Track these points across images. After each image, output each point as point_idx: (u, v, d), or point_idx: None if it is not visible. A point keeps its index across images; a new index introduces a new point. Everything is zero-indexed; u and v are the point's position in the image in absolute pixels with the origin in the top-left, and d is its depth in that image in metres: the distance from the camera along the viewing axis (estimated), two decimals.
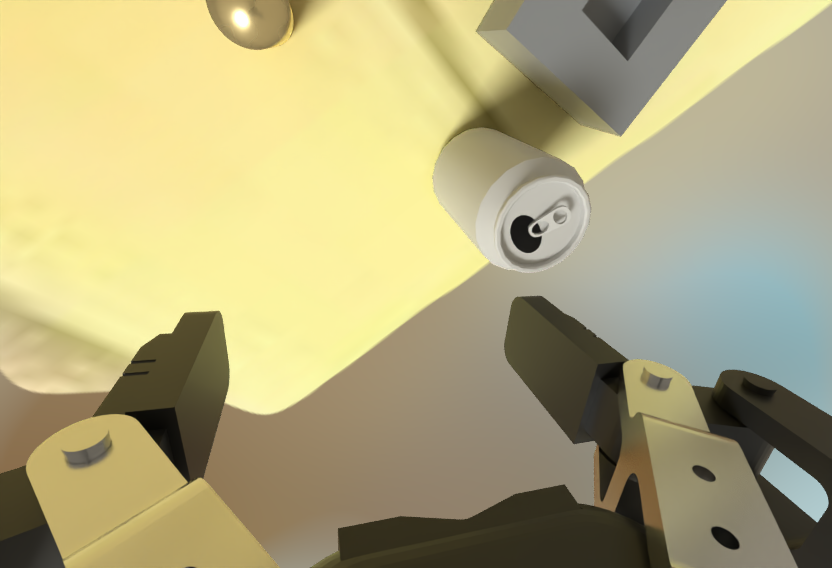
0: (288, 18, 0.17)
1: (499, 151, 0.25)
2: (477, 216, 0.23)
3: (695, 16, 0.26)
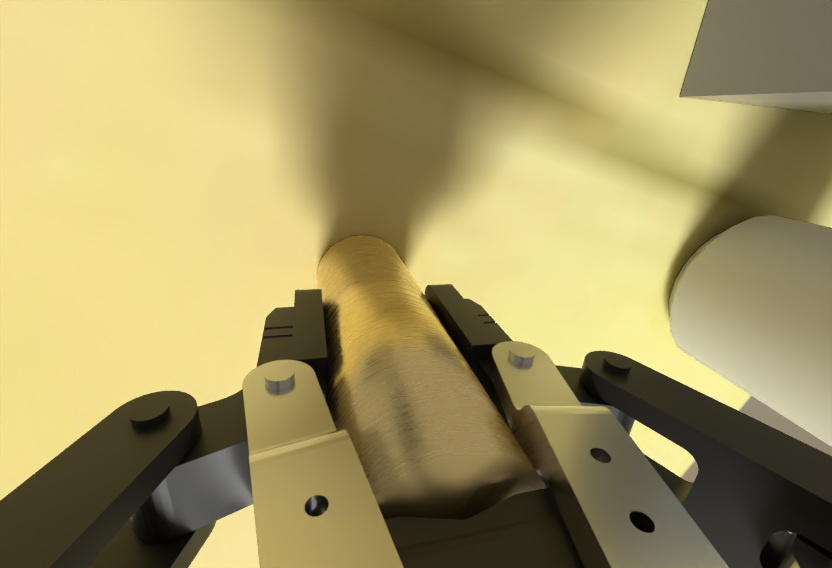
0: None
1: None
2: None
3: None
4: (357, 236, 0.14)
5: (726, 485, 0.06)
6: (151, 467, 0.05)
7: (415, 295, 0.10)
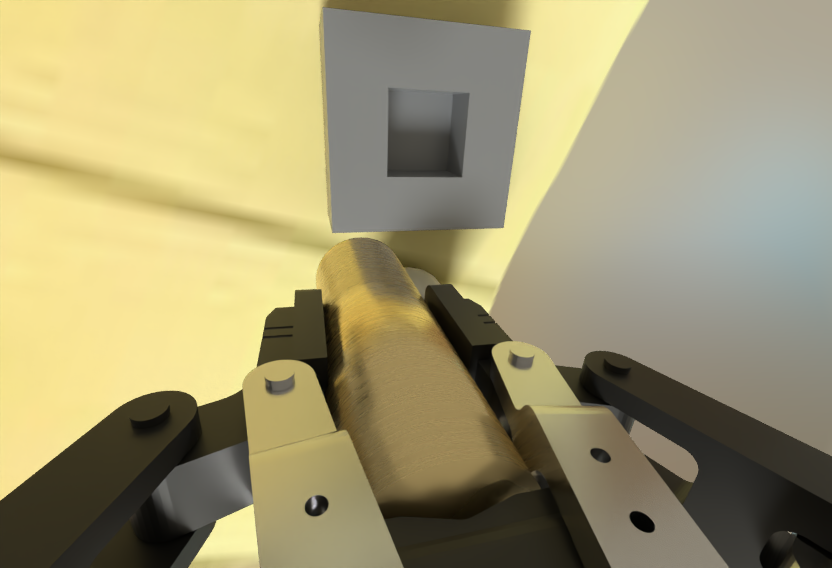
0: None
1: None
2: None
3: (502, 104, 0.24)
4: (357, 238, 0.14)
5: (726, 485, 0.06)
6: (151, 467, 0.05)
7: (413, 298, 0.10)
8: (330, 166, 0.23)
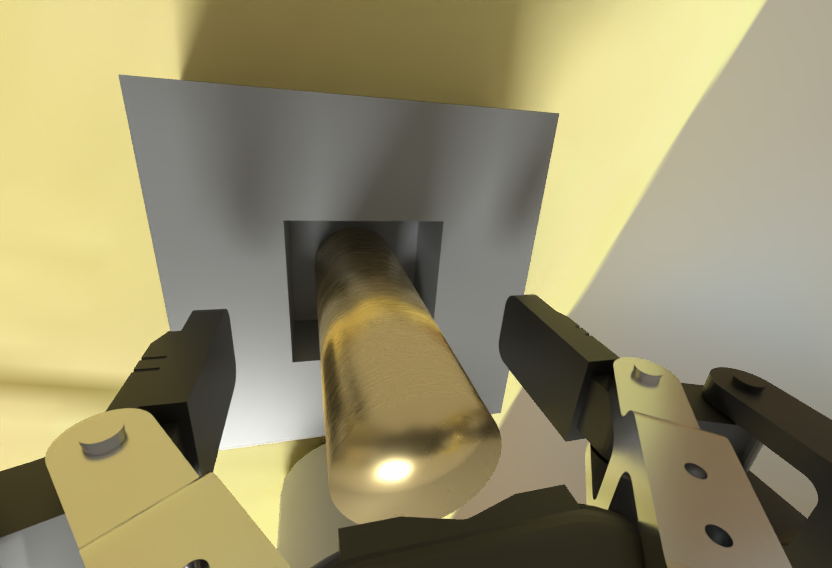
0: (496, 434, 0.07)
1: None
2: None
3: (503, 236, 0.14)
4: (352, 227, 0.15)
5: None
6: None
7: (401, 279, 0.11)
8: None
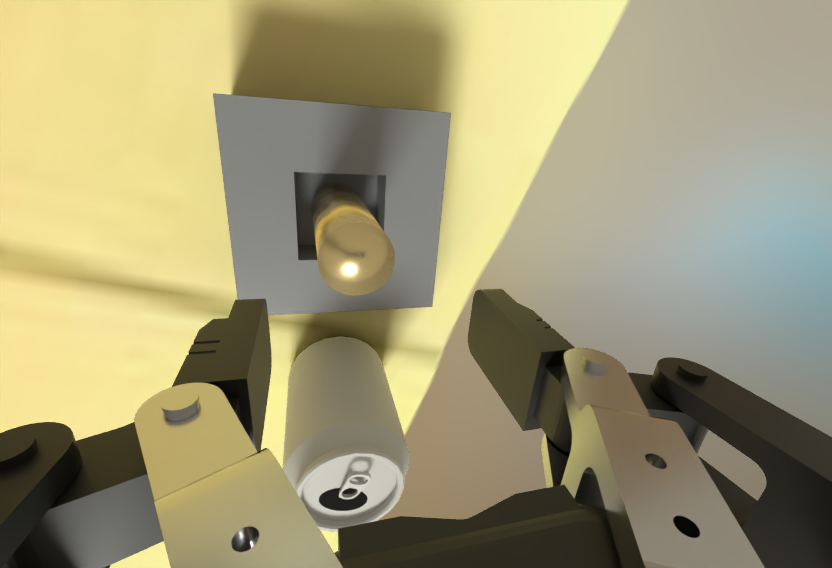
0: (392, 249, 0.17)
1: (295, 414, 0.24)
2: None
3: (423, 186, 0.23)
4: (334, 183, 0.24)
5: (796, 503, 0.06)
6: (20, 510, 0.04)
7: (359, 201, 0.20)
8: (233, 251, 0.22)
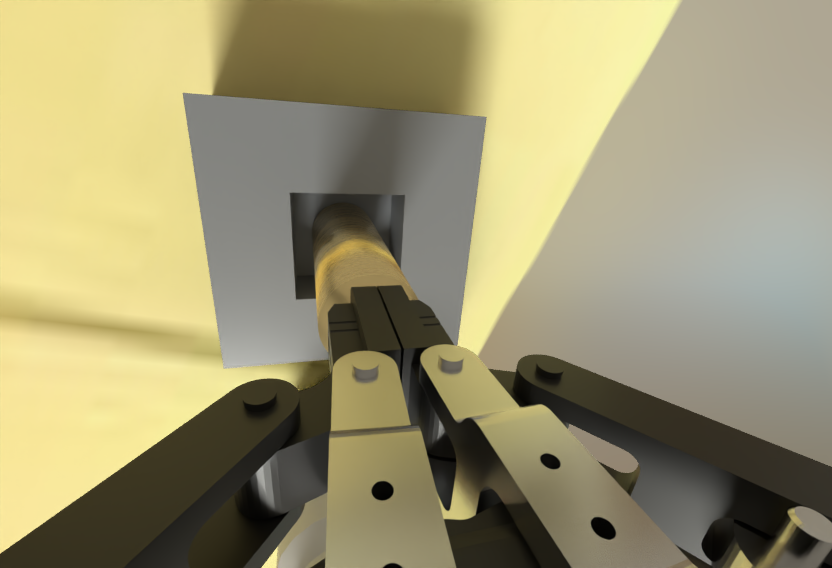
0: None
1: None
2: None
3: (450, 207, 0.18)
4: None
5: (667, 481, 0.06)
6: (255, 451, 0.05)
7: (370, 231, 0.16)
8: (213, 291, 0.17)
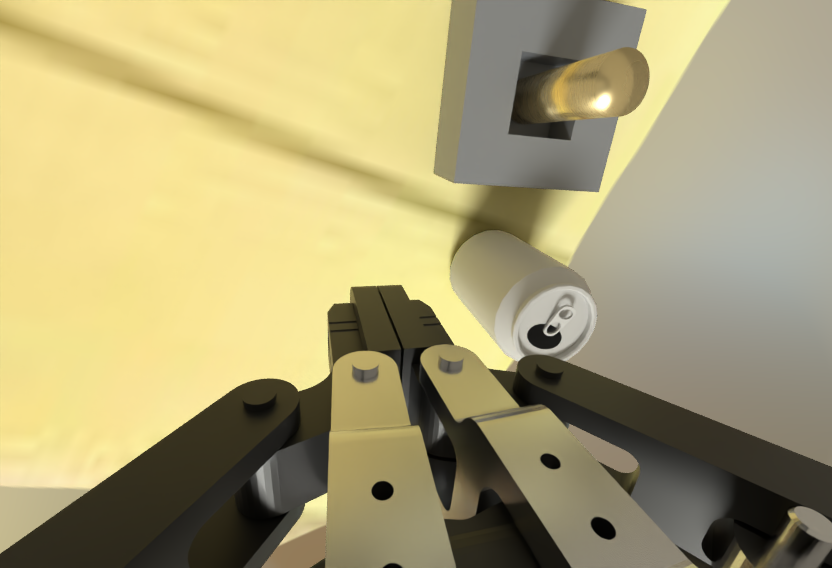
0: (647, 76, 0.20)
1: (492, 272, 0.28)
2: (497, 339, 0.27)
3: None
4: None
5: (667, 481, 0.06)
6: (256, 451, 0.05)
7: None
8: (462, 119, 0.26)
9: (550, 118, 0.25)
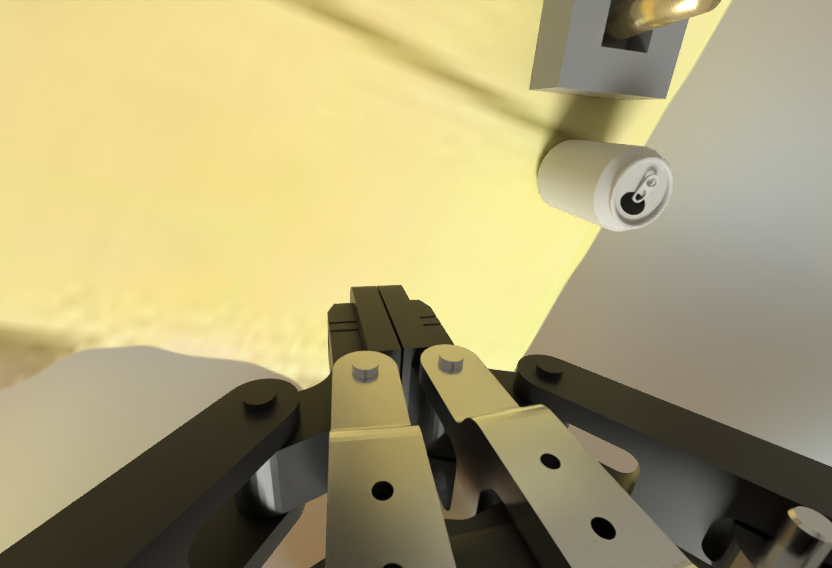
0: None
1: (587, 159, 0.36)
2: (594, 208, 0.34)
3: None
4: (610, 3, 0.36)
5: (667, 481, 0.06)
6: (255, 451, 0.05)
7: None
8: (568, 33, 0.33)
9: (639, 29, 0.32)
